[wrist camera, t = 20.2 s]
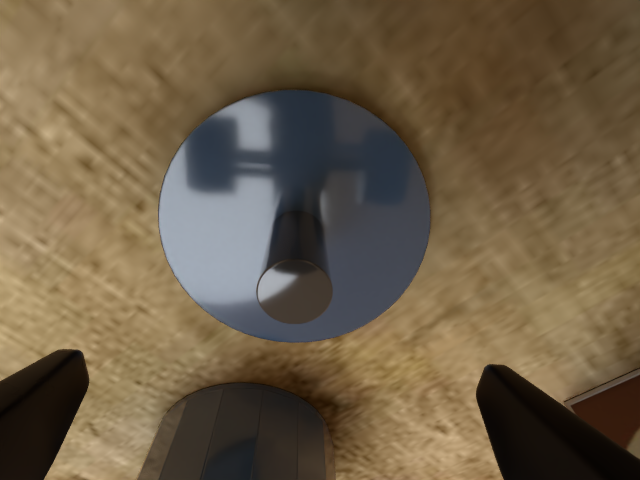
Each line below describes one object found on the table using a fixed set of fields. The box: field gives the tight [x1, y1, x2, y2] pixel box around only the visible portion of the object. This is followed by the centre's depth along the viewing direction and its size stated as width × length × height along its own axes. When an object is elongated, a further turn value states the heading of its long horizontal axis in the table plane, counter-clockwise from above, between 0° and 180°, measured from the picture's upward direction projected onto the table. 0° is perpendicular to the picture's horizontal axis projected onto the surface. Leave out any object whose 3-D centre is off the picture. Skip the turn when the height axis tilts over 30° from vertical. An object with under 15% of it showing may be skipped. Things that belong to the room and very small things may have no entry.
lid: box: [158, 90, 430, 343], centre depth 13 cm, size 12×12×6 cm
